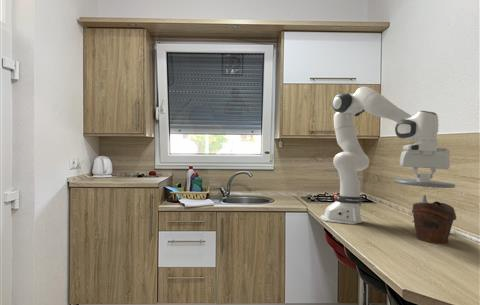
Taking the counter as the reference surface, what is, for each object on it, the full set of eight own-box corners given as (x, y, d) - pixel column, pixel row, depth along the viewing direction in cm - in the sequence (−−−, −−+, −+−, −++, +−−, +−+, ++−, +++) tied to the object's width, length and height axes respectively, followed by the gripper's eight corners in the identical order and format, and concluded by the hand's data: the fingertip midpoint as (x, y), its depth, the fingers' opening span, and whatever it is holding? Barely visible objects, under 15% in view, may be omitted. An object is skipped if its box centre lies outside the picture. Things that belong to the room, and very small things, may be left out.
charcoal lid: (406, 185, 137) (407, 173, 137) (386, 179, 161) (386, 169, 161) (467, 189, 135) (468, 177, 135) (437, 182, 159) (438, 172, 159)
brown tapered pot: (446, 236, 162) (447, 199, 162) (461, 247, 143) (463, 206, 142) (406, 232, 167) (407, 197, 167) (416, 243, 148) (417, 203, 147)
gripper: (446, 148, 150) (444, 178, 151) (399, 146, 152) (397, 176, 152) (453, 148, 144) (451, 180, 144) (405, 146, 146) (403, 177, 146)
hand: (423, 178), depth 148 cm, fingers closed on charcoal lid, 4 cm apart
